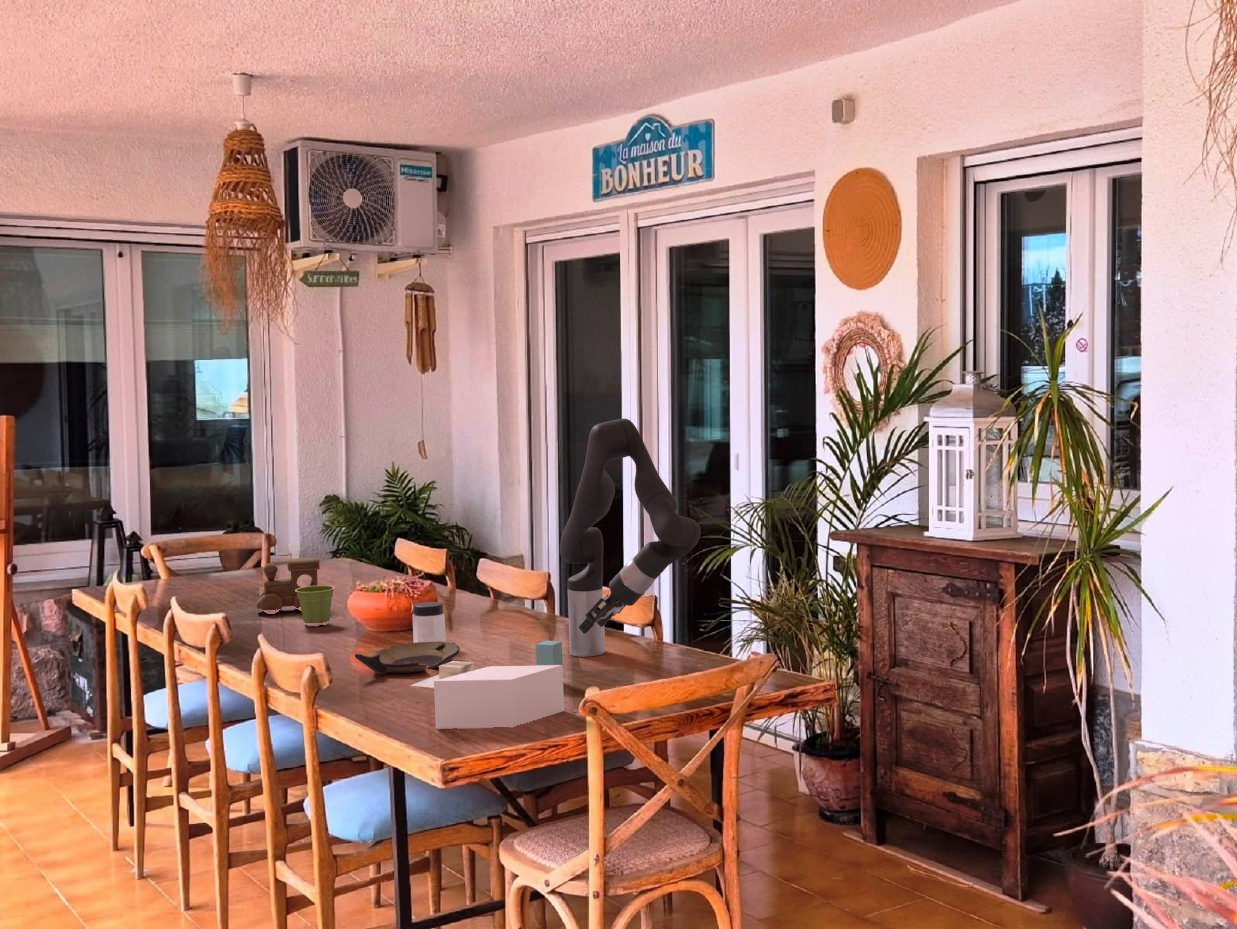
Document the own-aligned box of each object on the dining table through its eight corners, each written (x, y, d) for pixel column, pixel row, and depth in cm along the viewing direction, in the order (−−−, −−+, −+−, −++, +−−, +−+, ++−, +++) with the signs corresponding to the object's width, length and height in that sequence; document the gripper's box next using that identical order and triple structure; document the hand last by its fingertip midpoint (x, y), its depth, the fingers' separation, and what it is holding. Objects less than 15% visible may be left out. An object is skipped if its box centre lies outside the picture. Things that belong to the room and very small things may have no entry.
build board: (448, 675, 325) (447, 671, 325) (503, 680, 318) (503, 676, 318) (410, 689, 311) (409, 685, 311) (467, 695, 304) (467, 690, 304)
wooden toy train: (319, 606, 433) (317, 556, 432) (322, 611, 423) (320, 560, 421) (256, 611, 428) (254, 560, 427) (257, 616, 417) (255, 564, 416)
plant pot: (295, 623, 403) (294, 587, 402) (335, 620, 406) (333, 584, 405) (297, 630, 392) (295, 592, 391) (337, 627, 395) (336, 590, 394)
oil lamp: (477, 671, 329) (476, 641, 328) (362, 688, 314) (361, 657, 313) (442, 656, 348) (441, 628, 348) (332, 672, 333) (331, 642, 333)
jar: (410, 650, 356) (408, 607, 356) (417, 644, 364) (415, 601, 364) (442, 650, 356) (440, 606, 355) (449, 644, 364) (447, 601, 363)
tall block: (546, 681, 315) (545, 640, 315) (563, 683, 313) (561, 641, 313) (537, 685, 311) (535, 644, 311) (553, 687, 309) (552, 645, 309)
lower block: (453, 677, 318) (452, 660, 318) (474, 678, 316) (473, 662, 316) (439, 682, 313) (438, 665, 313) (460, 684, 310) (460, 667, 310)
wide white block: (577, 718, 281) (575, 671, 280) (446, 737, 268) (444, 688, 268) (551, 704, 294) (550, 658, 293) (425, 721, 282) (424, 674, 281)
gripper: (636, 564, 308) (594, 610, 314) (608, 573, 295) (565, 620, 301) (657, 587, 306) (614, 633, 312) (630, 597, 293) (586, 645, 299)
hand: (590, 627), depth 306 cm, fingers open, 8 cm apart
